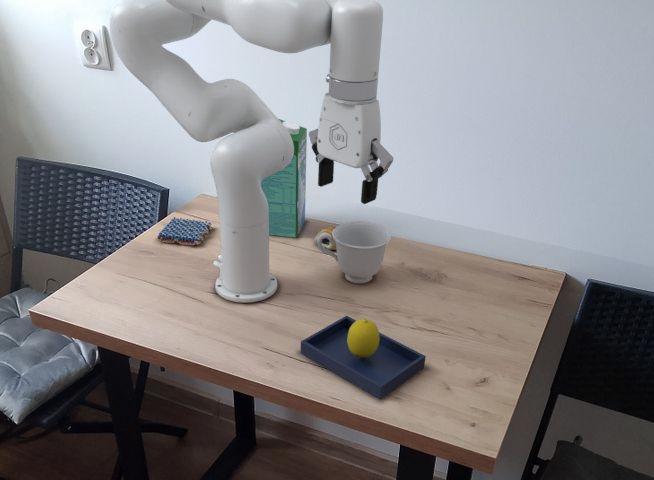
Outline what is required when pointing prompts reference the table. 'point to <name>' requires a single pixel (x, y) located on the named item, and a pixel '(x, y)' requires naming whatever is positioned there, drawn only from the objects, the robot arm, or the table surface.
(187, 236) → the woven mat
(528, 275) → the table surface
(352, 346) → the lemon
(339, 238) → the teacup
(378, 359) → the tray
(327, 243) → the pastry
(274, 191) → the milk carton
